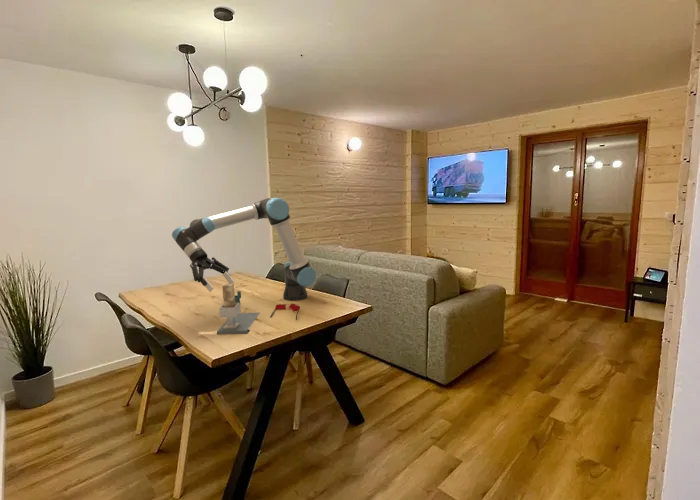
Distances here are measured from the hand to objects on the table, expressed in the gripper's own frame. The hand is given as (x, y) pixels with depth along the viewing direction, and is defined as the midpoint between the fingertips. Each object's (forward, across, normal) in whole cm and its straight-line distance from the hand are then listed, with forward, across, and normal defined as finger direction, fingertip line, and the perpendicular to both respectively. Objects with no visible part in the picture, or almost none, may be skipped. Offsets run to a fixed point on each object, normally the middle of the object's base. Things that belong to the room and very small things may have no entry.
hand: (222, 286), depth 169 cm
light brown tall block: (+11, -1, -7) cm, 13 cm away
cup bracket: (+16, 0, -12) cm, 20 cm away
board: (+16, -8, -14) cm, 23 cm away
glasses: (+27, -26, -4) cm, 38 cm away
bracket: (-2, -32, -33) cm, 46 cm away
